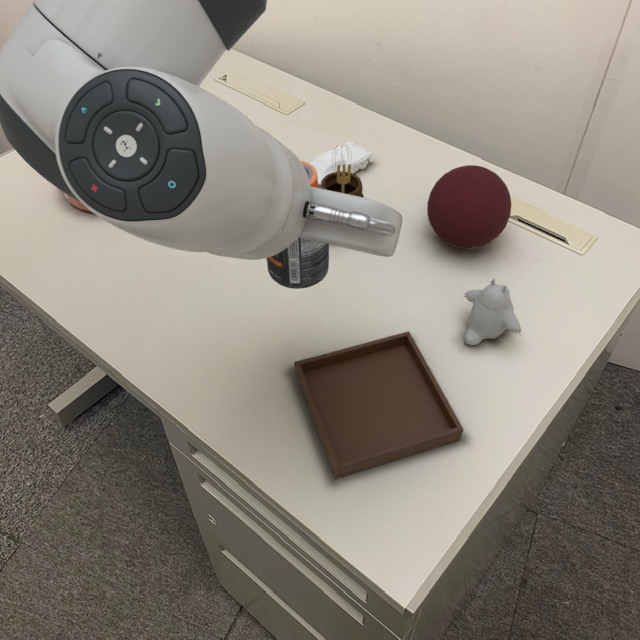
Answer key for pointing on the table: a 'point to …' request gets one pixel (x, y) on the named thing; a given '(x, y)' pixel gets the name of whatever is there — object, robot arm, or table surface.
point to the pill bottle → (301, 256)
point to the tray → (375, 404)
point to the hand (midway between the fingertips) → (298, 218)
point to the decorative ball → (469, 206)
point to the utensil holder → (343, 180)
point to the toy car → (341, 160)
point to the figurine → (490, 313)
